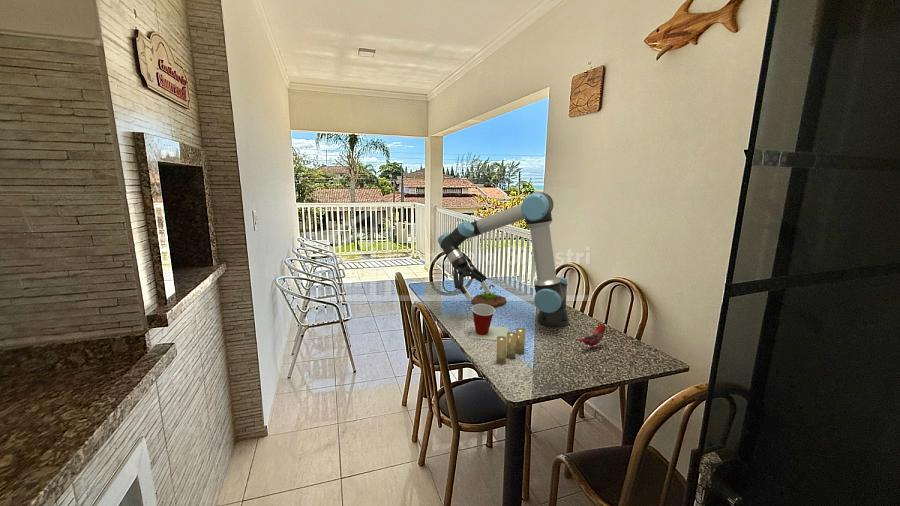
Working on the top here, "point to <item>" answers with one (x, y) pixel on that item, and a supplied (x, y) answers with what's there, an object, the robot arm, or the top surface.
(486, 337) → the mat
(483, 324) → the plastic cup
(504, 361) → the spacer posts
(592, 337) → the decorative bird figurine
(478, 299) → the plant
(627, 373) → the top surface
